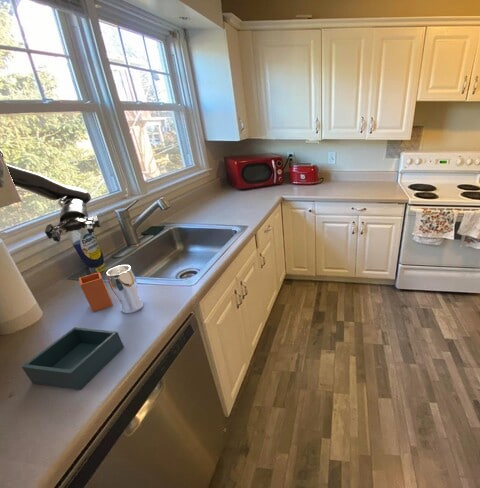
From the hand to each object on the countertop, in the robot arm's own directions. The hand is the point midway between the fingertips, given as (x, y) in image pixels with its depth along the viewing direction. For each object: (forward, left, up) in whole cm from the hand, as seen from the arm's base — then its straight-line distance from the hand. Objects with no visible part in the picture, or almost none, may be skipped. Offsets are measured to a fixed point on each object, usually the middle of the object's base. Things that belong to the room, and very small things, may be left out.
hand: (73, 235), depth 91 cm
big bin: (+21, -28, -24) cm, 42 cm away
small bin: (+5, -5, -24) cm, 25 cm away
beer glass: (+17, -5, -24) cm, 30 cm away
